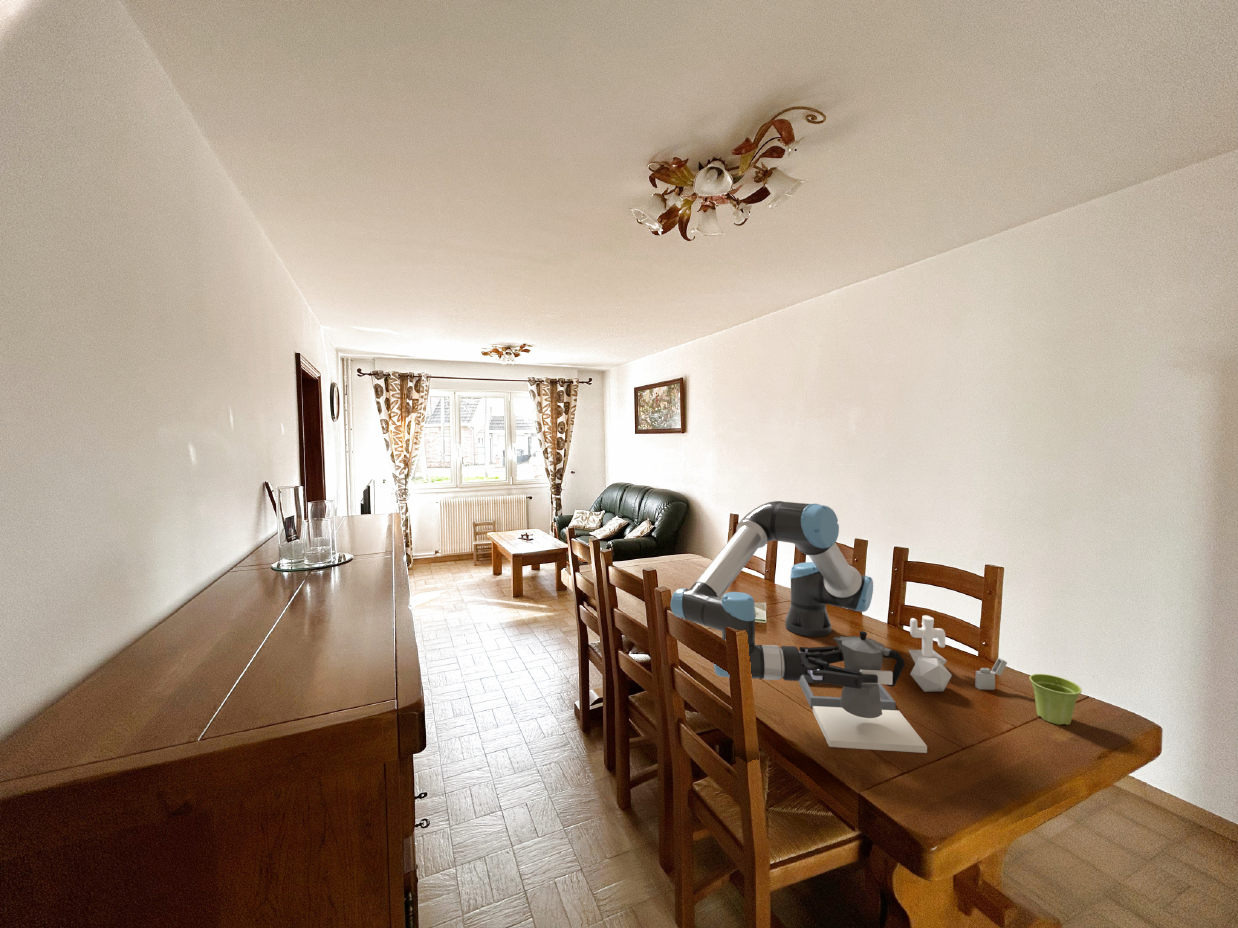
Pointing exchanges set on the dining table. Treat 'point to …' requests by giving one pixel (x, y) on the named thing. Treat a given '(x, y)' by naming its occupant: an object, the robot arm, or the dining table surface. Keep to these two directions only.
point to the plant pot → (1054, 698)
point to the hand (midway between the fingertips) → (882, 667)
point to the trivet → (868, 730)
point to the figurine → (927, 639)
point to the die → (930, 674)
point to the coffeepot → (865, 657)
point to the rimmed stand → (886, 699)
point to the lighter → (989, 675)
